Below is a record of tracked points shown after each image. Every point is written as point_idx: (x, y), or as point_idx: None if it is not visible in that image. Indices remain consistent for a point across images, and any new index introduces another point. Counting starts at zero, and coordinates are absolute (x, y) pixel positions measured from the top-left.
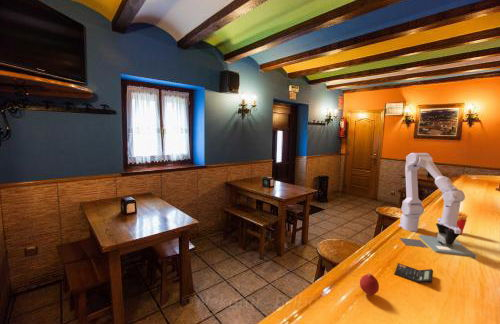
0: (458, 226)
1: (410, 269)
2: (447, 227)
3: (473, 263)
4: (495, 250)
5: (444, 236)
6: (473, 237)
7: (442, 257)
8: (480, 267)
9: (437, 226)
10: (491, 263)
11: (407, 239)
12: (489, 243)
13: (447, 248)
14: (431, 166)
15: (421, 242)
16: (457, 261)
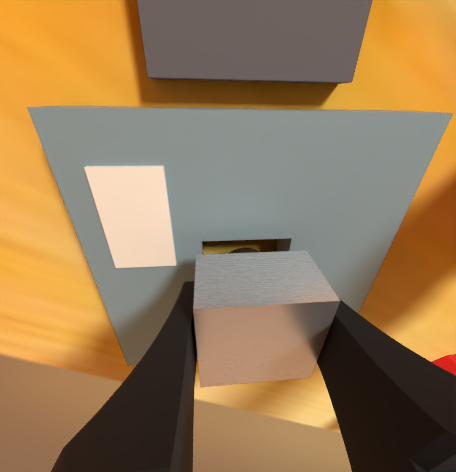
0: None
1: None
2: (363, 462)
3: (59, 312)
4: (260, 413)
5: (226, 323)
6: None
7: (22, 148)
8: (21, 322)
9: (447, 384)
10: (116, 372)
11: None
12: (317, 417)
13: (141, 252)
14: None
15: (284, 55)
16: (20, 238)
